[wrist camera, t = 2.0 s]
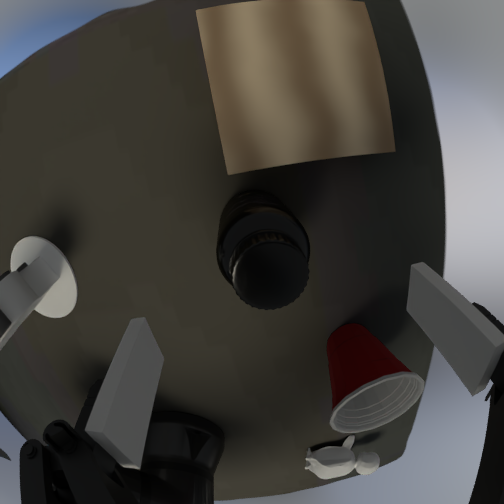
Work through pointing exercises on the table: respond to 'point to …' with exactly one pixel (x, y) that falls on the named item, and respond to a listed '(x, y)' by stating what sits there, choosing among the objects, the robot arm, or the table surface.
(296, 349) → the table surface
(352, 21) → the oak block
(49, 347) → the table surface
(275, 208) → the supplement bottle
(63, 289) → the disc-based toy figure
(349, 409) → the plastic cup
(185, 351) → the table surface
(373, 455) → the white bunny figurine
